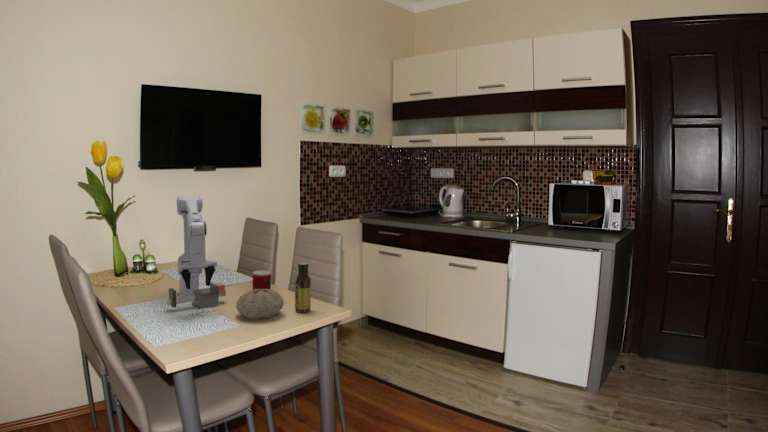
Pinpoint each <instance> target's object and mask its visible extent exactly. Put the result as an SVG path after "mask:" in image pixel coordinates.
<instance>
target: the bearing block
mask: <svg viewBox="0 0 768 432" xmlns="http://www.w3.org/2000/svg"><path fill="white" fill-rule="evenodd" d="M216 284H217V283H214V282H212V281H211V282H210V286H209V287H207V288H205V287H204V288H201V289H200V288H199V289H198V290H193V294H195V293H196V294H197V301H192V305H193V306H194V305H195V308H197V307H198V308H197V309H199V310H200V308H201V309H206V308H211V307H217V306H219V305H220V304H219V303H220V302H219V301H220V300H219V298H220V297H219V295H218V285H216Z"/></svg>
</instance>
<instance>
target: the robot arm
mask: <svg viewBox="0 0 768 432" xmlns="http://www.w3.org/2000/svg"><path fill="white" fill-rule="evenodd" d="M203 203H204V202H203V197H202V196H201V195H198V196H197V195H195V196H194V195H192V196H191V195H189V196H187V195H183V196H181V195H177V198H176V211H177V214H178V215H179V216H182V219H183V245H184V246H183V247H184V249H183V250H184V252H183V253H181V254H180V255H179V256H178V258H177V266H176V267H177V274H178V275H179V276H180V277H179V280H178V284H179V285H178V287H179V291H176V294H178V296H182V295H189V294H193V290H198V289H200V275H201V274H202V273H203V269H204V275H205V286H207V287H210V283H211V282H212V279H213V275H214V273H216V268H217V267H218V262H217V261H214V260H213V261H206V237H207V233H208V228H207V227H208V226H207V223H206V221H205V220H204V219H203V215H202V214H201V212H202V211H203V206H204V205H203Z"/></svg>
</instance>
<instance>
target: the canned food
mask: <svg viewBox="0 0 768 432" xmlns="http://www.w3.org/2000/svg"><path fill="white" fill-rule="evenodd" d="M271 288H272V272H271V271H269V270H263V269H261V270H255V271H253V272H252V290H255V289H256V290H257V289H260V290H261V289H271ZM271 290H272V289H271Z"/></svg>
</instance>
